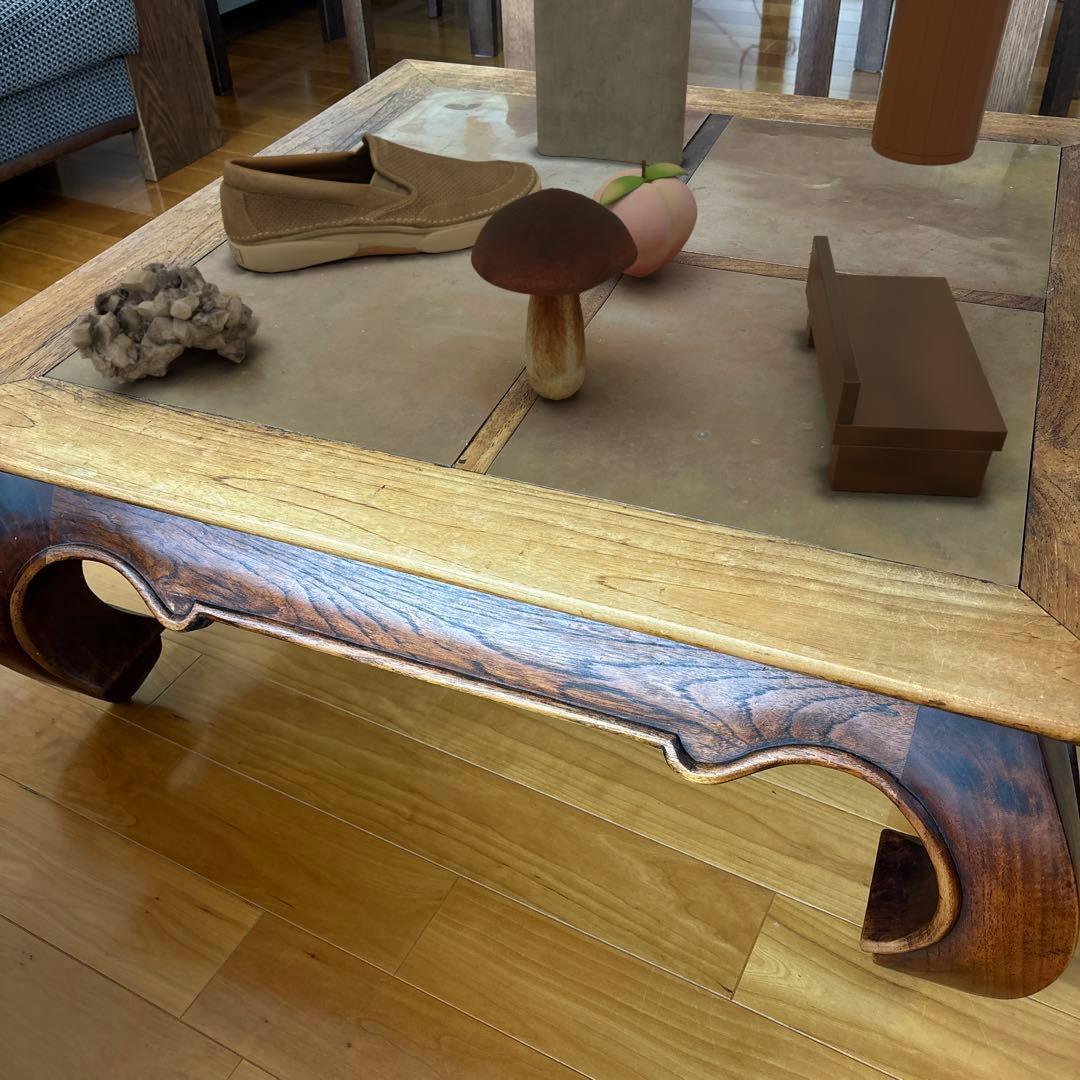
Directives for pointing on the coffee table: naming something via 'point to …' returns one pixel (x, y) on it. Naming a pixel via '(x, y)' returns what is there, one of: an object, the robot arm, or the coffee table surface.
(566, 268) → the decorative mushroom
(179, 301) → the mineral specimen
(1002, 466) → the coffee table surface
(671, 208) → the decorative fruit
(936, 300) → the walnut bench
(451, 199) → the slip on shoe
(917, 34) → the bottle
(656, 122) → the grey upright slab
